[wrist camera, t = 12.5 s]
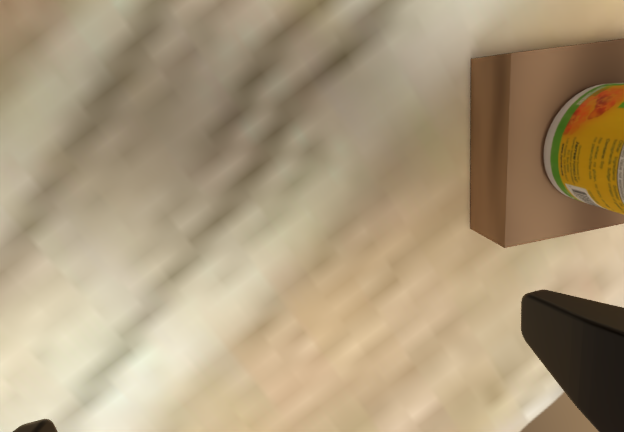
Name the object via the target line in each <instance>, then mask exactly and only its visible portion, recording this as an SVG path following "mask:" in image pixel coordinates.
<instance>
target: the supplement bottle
mask: <svg viewBox="0 0 624 432" xmlns="http://www.w3.org/2000/svg"><path fill="white" fill-rule="evenodd" d="M544 165H545V170H546V173H547V175H548V178H549V179H550V181H551V183H552V184H553V185H554V187H555V188H556V189H557V190H558V191H560V192H561V193H562V194H564V195H566V196H568V197H570V198H573V199H576V200H578V201H581V202H584V203H587V204H591V205H594V206H597V207H600V208H603V209H607V210H610V211H613V212H617V213H620V214H623V215H624V83H609V84H600V85H596V86H593V87H590V88H587V89H585V90H583V91H582V92H580V93H578V94H577V95H575V96H574V97H573V98H572V99H570V100H569V101H568V102H567V103H566V104H565V105H564V106H563V107H562V108H561V110H560V111H559V112H558V114H557V115H556V117H555V118H554V120H553V122H552V124H551V126H550V128H549V130H548V133H547V135H546V139H545V144H544Z"/></svg>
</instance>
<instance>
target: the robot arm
mask: <svg viewBox="0 0 624 432" xmlns="http://www.w3.org/2000/svg"><path fill="white" fill-rule="evenodd" d="M521 331H522V335H523V337H524V339H525V341H526V342H527V344H528V345H529V346H530V348H531V349H532V350H533V351H534V353H535V354H536V355H537V357H538V358H539V359H540V360H541V362H542V363H543V364H544V366H545V367H546V368H547V370H548V371H549V372H550V373H551V375H552V376H553V377H554V379H555V380H556V381H557V382H558V384H559V385H560V386H561V388H562V389H563V390H564V391H565V393H566V394H567V395H568V397H569V398H570V399H571V400H572V401H573V403H574V404H575V405H576V406H577V408H578V409H579V410H580V411H581V412H582V413H583V414H584V415H585V417H586V418H587V419H588V420H589V421H590V422H591V423H592V424H593V425H594V426H595V427H596V429H597V430H598V431H599V432H624V308H622V307H618V306H613V305H609V304H605V303H600V302H596V301H592V300H587V299H583V298H579V297H574V296H570V295H566V294H561V293H557V292H553V291H548V290H539V291H535V292H531V293H527V294H525V295H524V296H523V298H522V302H521ZM13 432H57V430H56V427H55V425H54V424H53V422H52V421H50V420H49V419H42V420H38V421H35V422H31V423H27V424H24V425H21V426H20V427H18V428H17V429H16V430H15V431H13Z"/></svg>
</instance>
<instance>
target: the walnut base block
mask: <svg viewBox="0 0 624 432" xmlns="http://www.w3.org/2000/svg"><path fill="white" fill-rule="evenodd" d="M609 83H624V39H618V40H610V41H602V42H595V43H587V44H579V45H571V46H563V47H555V48H548V49H540V50H532V51H524V52H516V53H509V54H502V55H495V56H488V57H481V58H474V59H471V214H470V229H472V230H474V231H476V232H477V233H479V234H481V235H483V236H485V237H486V238H488V239H490V240H492V241H493V242H495V243H497V244H499V245H500V246H502V247H504V248H507V247H511V246H516V245H521V244H526V243H531V242H536V241H541V240H545V239H550V238H555V237H560V236H565V235H570V234H575V233H579V232H584V231H589V230H594V229H599V228H604V227H609V226H613V225H618V224H623V223H624V215H623V214H620V213H617V212H613V211H610V210H607V209H603V208H600V207H597V206H594V205H591V204H587V203H584V202H581V201H578V200H576V199H573V198H570V197H568V196H566V195H564V194H562V193H561V192H560V191H558V190H557V189H556V188H555V187H554V185H553V184H552V183H551V181H550V179H549V178H548V175H547V173H546V170H545V165H544V144H545V139H546V135H547V133H548V130H549V128H550V126H551V124H552V122H553V120H554V118H555V117H556V115H557V114H558V112H559V111H560V110H561V108H562V107H563V106H564V105H565V104H566V103H567V102H568V101H569V100H570V99H572V98H573V97H574V96H575V95H577V94H578V93H580V92H582V91H583V90H585V89H587V88H590V87H593V86H596V85H600V84H609Z"/></svg>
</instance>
